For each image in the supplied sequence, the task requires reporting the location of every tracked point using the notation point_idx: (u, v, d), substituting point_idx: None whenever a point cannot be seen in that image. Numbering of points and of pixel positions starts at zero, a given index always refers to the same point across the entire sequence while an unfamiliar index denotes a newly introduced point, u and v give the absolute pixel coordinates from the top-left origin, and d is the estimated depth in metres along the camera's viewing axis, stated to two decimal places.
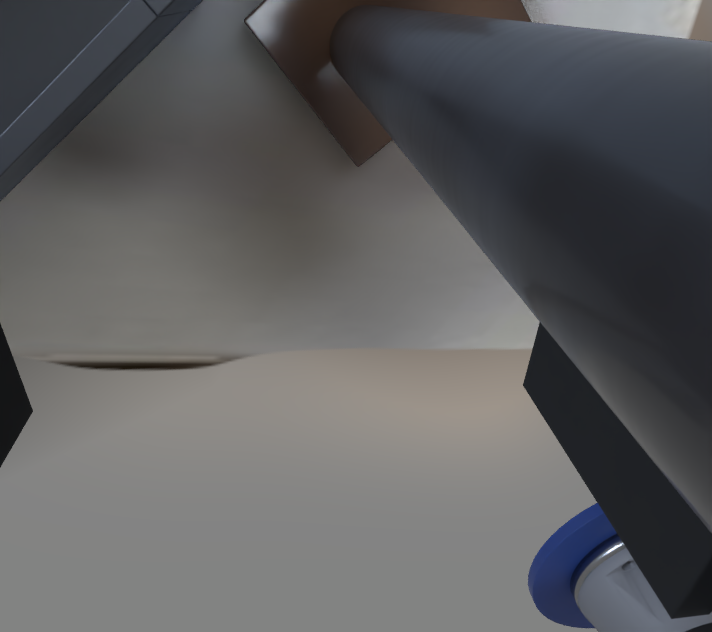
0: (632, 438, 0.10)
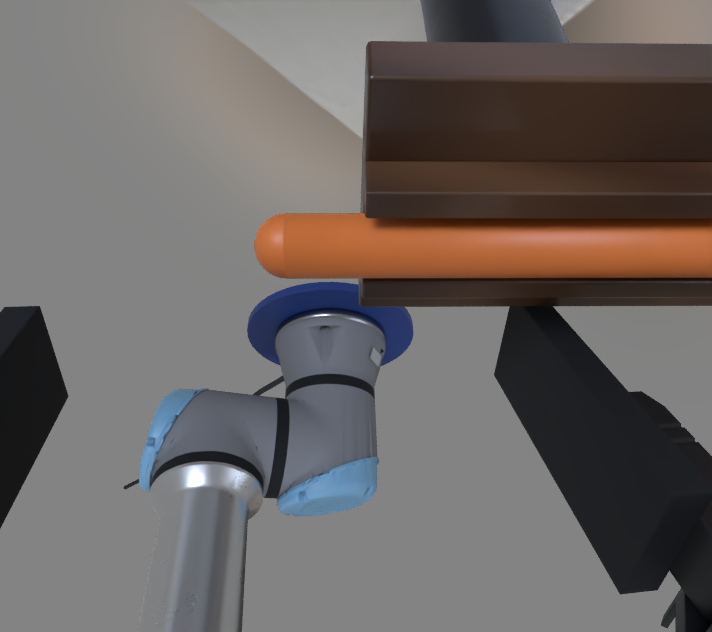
0: (586, 421, 0.10)
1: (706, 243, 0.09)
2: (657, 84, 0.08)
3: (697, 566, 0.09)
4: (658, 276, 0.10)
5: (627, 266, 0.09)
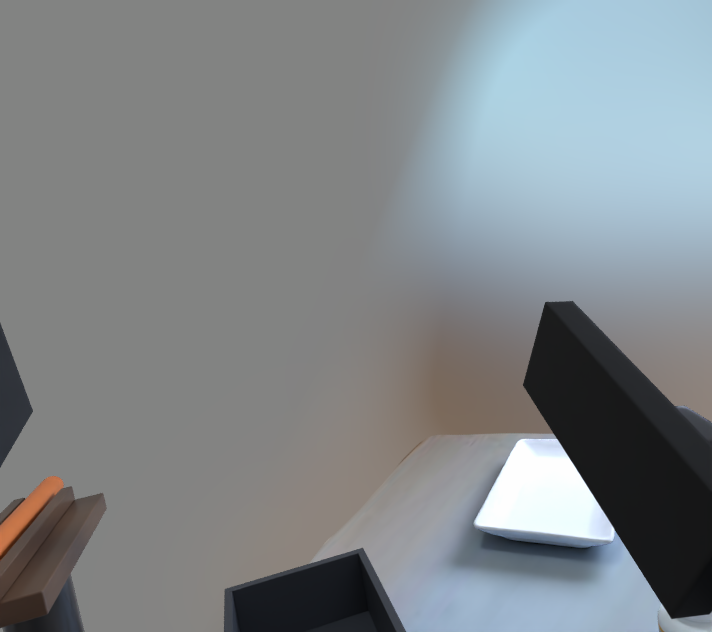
0: (632, 438, 0.10)
1: (4, 540, 0.23)
2: (80, 526, 0.26)
3: None
4: None
5: (8, 523, 0.24)
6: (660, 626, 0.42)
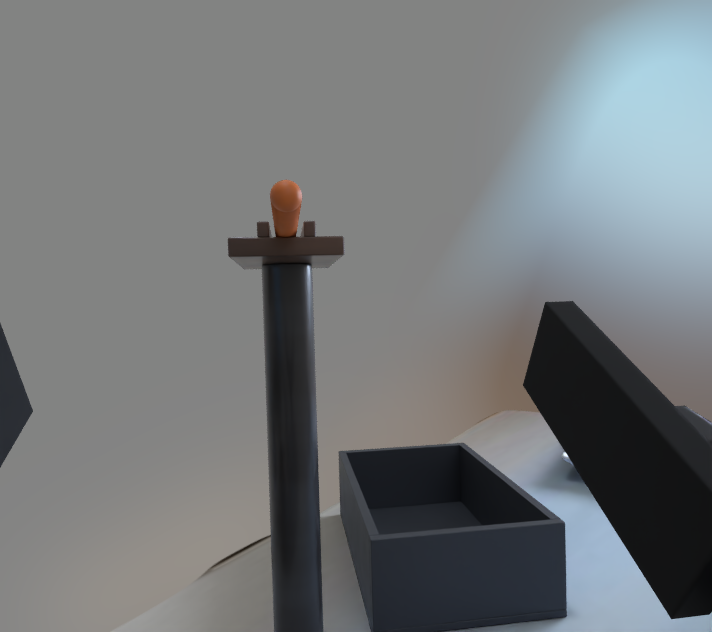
0: (632, 438, 0.10)
1: None
2: None
3: None
4: None
5: None
6: None
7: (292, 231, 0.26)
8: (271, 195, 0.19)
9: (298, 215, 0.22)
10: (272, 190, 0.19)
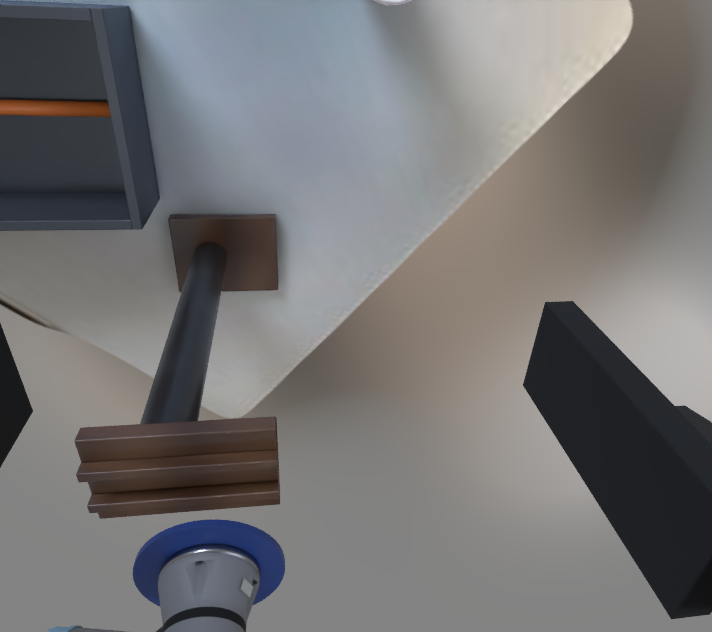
0: (632, 438, 0.10)
1: None
2: (163, 437, 0.27)
3: None
4: None
5: None
6: None
7: None
8: None
9: None
10: None
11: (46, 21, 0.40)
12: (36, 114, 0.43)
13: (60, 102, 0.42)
